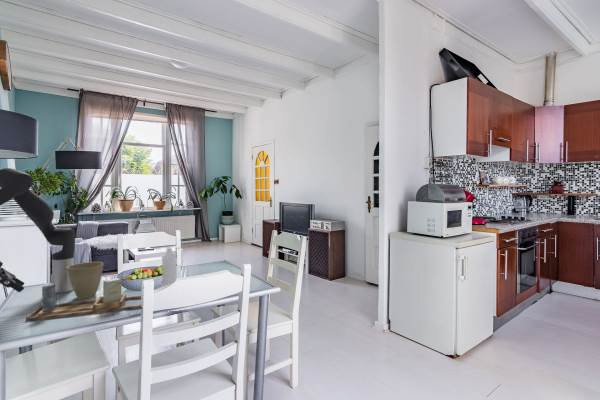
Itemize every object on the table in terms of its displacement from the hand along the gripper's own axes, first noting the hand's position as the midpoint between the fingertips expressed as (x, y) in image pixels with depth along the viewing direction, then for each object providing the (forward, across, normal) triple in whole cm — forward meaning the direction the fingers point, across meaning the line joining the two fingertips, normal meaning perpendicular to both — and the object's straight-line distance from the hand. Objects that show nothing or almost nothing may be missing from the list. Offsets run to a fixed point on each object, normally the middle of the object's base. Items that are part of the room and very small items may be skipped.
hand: (22, 287), depth 129 cm
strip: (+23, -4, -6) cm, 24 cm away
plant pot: (+26, +15, -8) cm, 31 cm away
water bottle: (+48, -14, -30) cm, 59 cm away
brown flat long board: (+27, -6, -9) cm, 29 cm away
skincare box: (+31, -8, -13) cm, 35 cm away
